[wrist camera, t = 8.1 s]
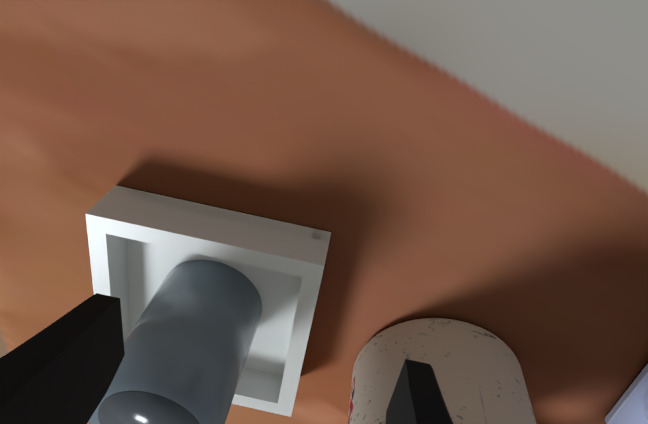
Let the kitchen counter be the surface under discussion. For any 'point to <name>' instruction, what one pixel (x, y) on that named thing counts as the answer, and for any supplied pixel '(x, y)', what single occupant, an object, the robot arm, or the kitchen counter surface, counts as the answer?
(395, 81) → the kitchen counter surface
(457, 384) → the teacup with lid
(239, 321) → the tumbler
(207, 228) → the tray
